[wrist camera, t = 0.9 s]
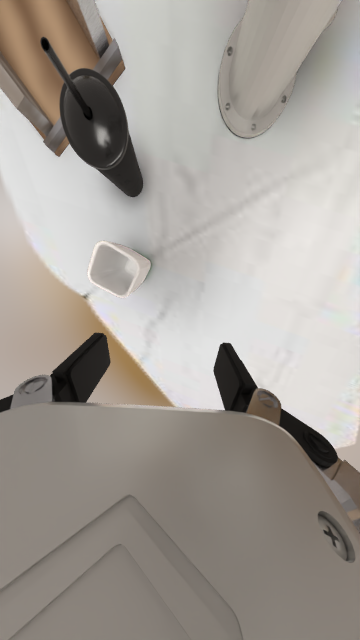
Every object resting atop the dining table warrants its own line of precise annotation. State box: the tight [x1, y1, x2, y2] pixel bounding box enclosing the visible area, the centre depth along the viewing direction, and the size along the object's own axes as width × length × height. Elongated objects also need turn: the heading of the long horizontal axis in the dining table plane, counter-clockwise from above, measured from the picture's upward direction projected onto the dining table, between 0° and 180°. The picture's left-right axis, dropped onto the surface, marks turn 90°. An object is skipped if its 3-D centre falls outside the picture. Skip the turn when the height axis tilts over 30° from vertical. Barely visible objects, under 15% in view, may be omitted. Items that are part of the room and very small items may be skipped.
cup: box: [87, 241, 151, 298], centre depth 28 cm, size 7×7×15 cm
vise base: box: [0, 0, 125, 157], centre depth 19 cm, size 18×14×7 cm
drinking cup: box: [40, 37, 143, 197], centre depth 19 cm, size 8×8×20 cm
